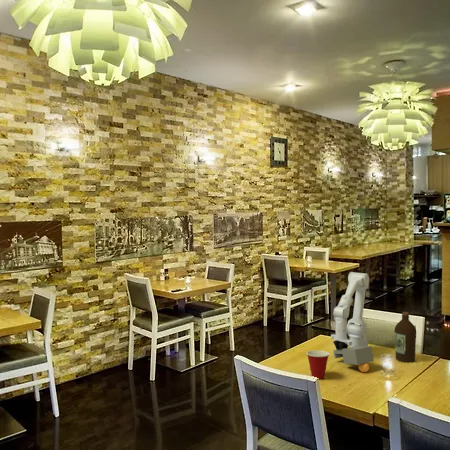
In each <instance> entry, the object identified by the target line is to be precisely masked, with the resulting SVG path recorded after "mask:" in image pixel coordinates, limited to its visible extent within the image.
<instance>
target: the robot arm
mask: <svg viewBox="0 0 450 450" xmlns="http://www.w3.org/2000/svg"><path fill="white" fill-rule="evenodd" d="M347 281H348V284H347V288H346V291H345V294H342V295H341V298H340V300H339V302H338V304H337V306H335V307H334V308H333V312H332V314H333V319H334V321H335V333H334V334H330V339H332V340H333V341H332V342H333V343H332V344H334V347H335V350H338V349H340V350H342V349H345V348H350V347H356V346H369V341H368V337H367V334H368V330H367V329H368V328H367V327H368V326H367V323H366V321H364V320H363V314H364V305H365V298H366V290H367V289H369V286H370V285H369V283H370V277H369V274H368V273H363V272H356V271H355V272H353V271H350V272H349V273H348V277H347ZM354 293H355V296H354ZM353 296H354V297H355V298H354V306H353V314H352V318H350V319H349V320H348V318H349V315H350V310H351V309H350V307H351V305H352V303H353V298H352V297H353ZM348 337H349V338H348ZM340 355H341V358H343V357H342V356H343V354H340Z"/></svg>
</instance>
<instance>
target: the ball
mask: <svg viewBox="0 0 450 450" xmlns="http://www.w3.org/2000/svg"><path fill="white" fill-rule="evenodd" d="M357 367H358V370H359V371H360V372H362V373H366V372H368V371H369V369H370V365H369V362H368V363H363V364H358V365H357Z"/></svg>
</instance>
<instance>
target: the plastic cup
mask: <svg viewBox="0 0 450 450" xmlns="http://www.w3.org/2000/svg"><path fill="white" fill-rule="evenodd" d="M305 354H306V356H307V360H308V363H309V364H308V365H309V369H310V373H311V377H312V376H314V377H317V378H319V380H321V381H322V380H323V379H325V375H326V370H327V364H328V358H329V356H330V352H328V351H326V350H320V349H319V350H313V349H312V350H308V351H306V353H305ZM319 380H318V381H319Z"/></svg>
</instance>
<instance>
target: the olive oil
mask: <svg viewBox="0 0 450 450" xmlns="http://www.w3.org/2000/svg"><path fill="white" fill-rule="evenodd" d="M401 313H402V314H401V320H399V322H397V323H396V324H395V327H394V332H393V333H394V347H395V349H394V351H395V360H396V361H398V362H401V363H406V362H407V364H408V363H409V362H411V363H414V362H415V361H416V344H417V329H416V326H415V325H414V323H412V322H411V321H410V315H409V314H410V313H409V312H407V311H402V312H401ZM409 364H410V363H409Z"/></svg>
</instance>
